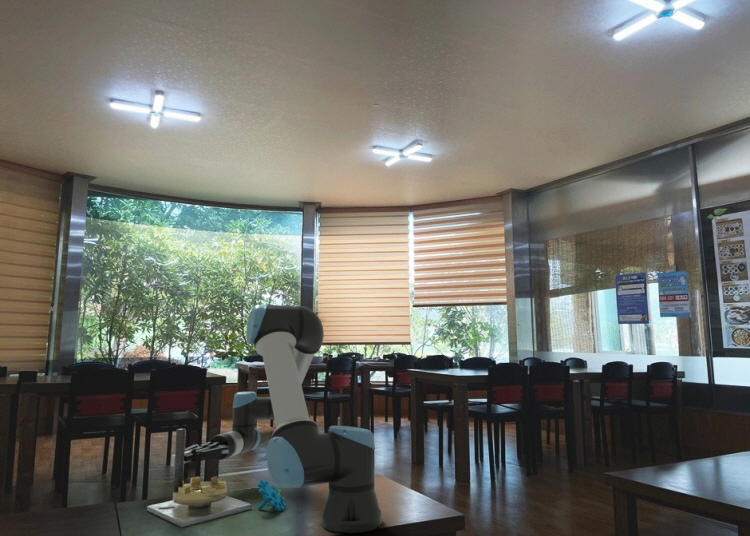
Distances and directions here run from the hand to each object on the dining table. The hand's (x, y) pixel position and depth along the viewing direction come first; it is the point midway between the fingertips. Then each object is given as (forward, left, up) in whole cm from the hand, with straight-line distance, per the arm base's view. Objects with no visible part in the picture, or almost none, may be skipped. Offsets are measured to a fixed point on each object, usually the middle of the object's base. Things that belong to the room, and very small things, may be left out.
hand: (173, 460), depth 138 cm
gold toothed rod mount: (-3, -7, -10) cm, 13 cm away
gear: (-17, -20, -14) cm, 30 cm away
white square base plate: (-3, -7, -13) cm, 15 cm away
